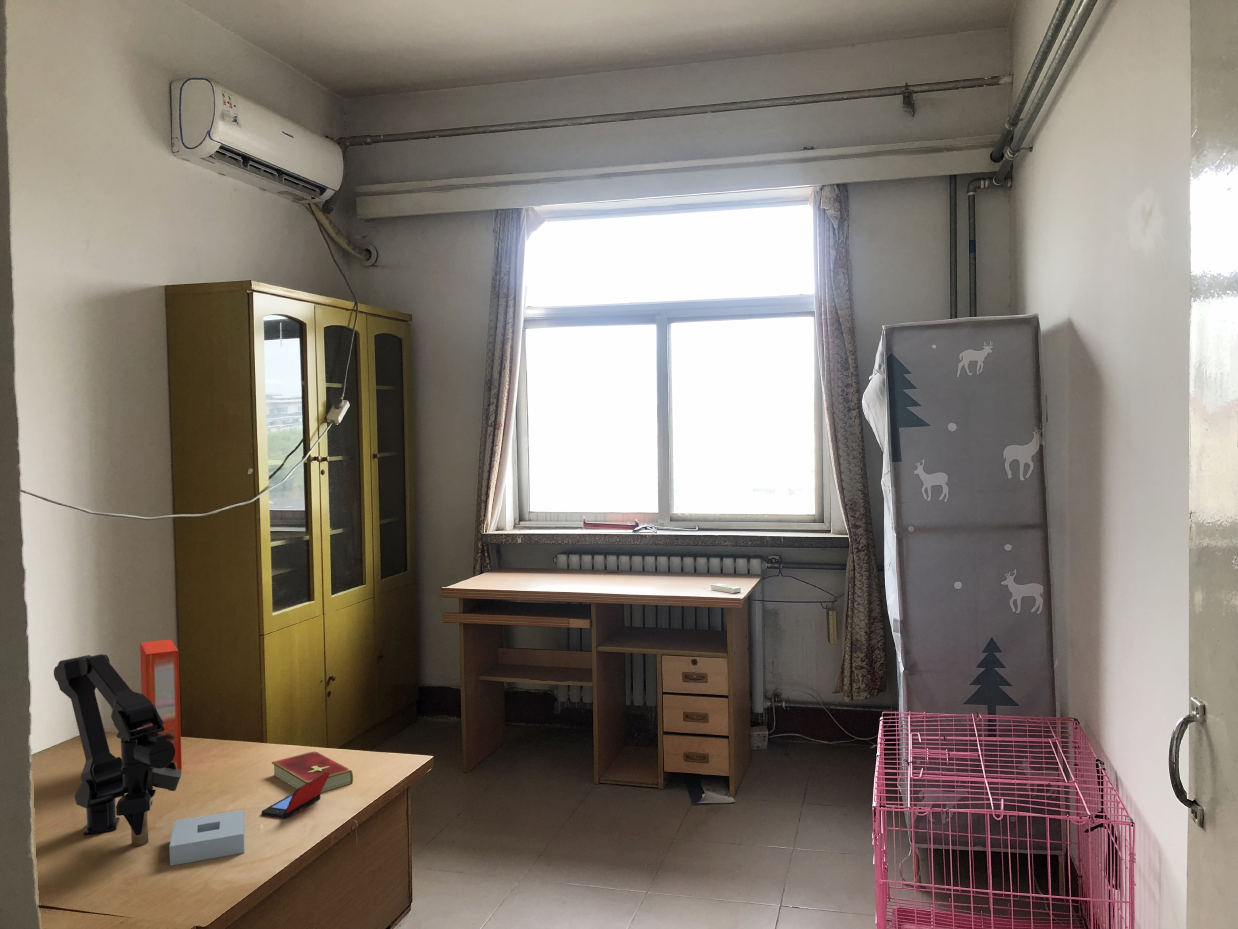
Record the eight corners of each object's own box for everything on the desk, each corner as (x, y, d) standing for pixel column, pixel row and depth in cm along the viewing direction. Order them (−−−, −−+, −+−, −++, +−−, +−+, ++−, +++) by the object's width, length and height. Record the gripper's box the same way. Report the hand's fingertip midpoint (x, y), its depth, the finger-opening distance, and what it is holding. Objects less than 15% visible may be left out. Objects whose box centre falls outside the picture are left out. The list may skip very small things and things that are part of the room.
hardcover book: (316, 765, 246) (315, 749, 245) (353, 785, 230) (352, 768, 230) (272, 777, 237) (271, 760, 237) (307, 798, 222) (306, 781, 222)
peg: (132, 841, 199) (131, 805, 199) (149, 838, 200) (147, 802, 200) (130, 847, 196) (129, 810, 196) (147, 844, 197) (146, 807, 197)
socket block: (175, 838, 200) (174, 820, 200) (244, 827, 205) (244, 809, 205) (170, 865, 187) (169, 846, 187) (244, 852, 192) (243, 833, 192)
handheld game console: (295, 796, 223) (294, 766, 223) (332, 801, 219) (331, 770, 219) (259, 816, 211) (257, 784, 211) (297, 822, 208) (296, 789, 207)
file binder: (175, 752, 258) (171, 639, 257) (183, 770, 243) (178, 650, 242) (143, 758, 253) (138, 643, 253) (149, 776, 239) (144, 654, 238)
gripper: (174, 768, 192) (177, 841, 192) (181, 741, 209) (183, 809, 210) (114, 776, 188) (117, 851, 188) (126, 749, 205) (128, 818, 205)
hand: (139, 831), depth 198 cm, fingers closed on peg, 3 cm apart
